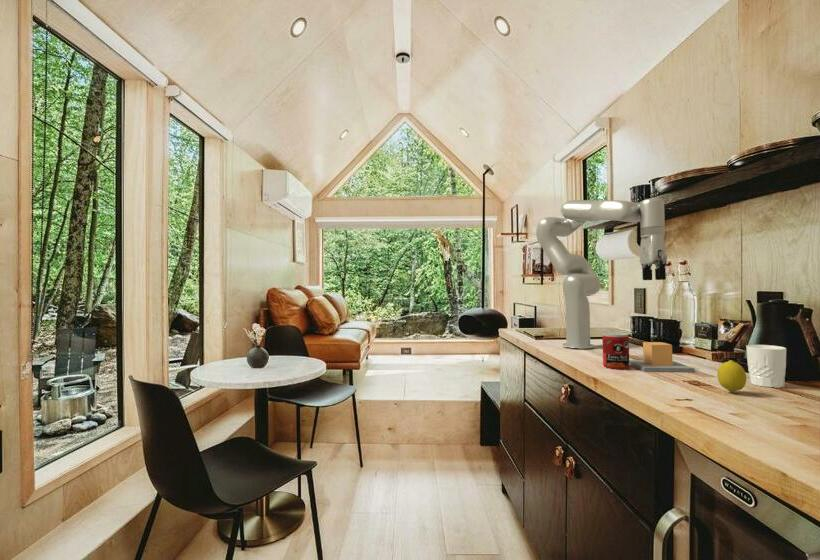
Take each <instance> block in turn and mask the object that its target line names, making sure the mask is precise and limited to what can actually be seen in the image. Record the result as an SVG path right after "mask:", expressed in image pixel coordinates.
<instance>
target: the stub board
mask: <svg viewBox="0 0 820 560" xmlns="http://www.w3.org/2000/svg"><path fill="white" fill-rule="evenodd" d="M672 361H673V366H652V365H650V364H647V363H645V362H643V359H629V366H631V367H633V368H636V369H638V370H640V371H642V372H645V373H651V372H652V373H656V372H657V373H694V371H695V370H694V369H695V368H693V367H692V366H688V365H686V364H683V363H681V362H677V361H674V360H672Z"/></svg>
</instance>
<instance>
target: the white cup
mask: <svg viewBox="0 0 820 560" xmlns="http://www.w3.org/2000/svg"><path fill="white" fill-rule="evenodd" d="M745 347H746V358H747V360H746V361H747V367H748V368H747V369H748V373H749V383H750V384H751V385H754V386H759V387H765V388H772V387H774V388H773V389H775V388H777V389H779V388H780V389H781V387H782V388H785V385H786V384H785V383H786V382H785V381H786V380H785V378H786V368H787V347H784V346H779V345H772V344H771V345H769V344H746V345H745Z"/></svg>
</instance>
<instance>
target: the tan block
mask: <svg viewBox="0 0 820 560" xmlns="http://www.w3.org/2000/svg"><path fill="white" fill-rule="evenodd" d="M642 350H643V351H642V352H643V353H642V356H643V357H642V358H643V359H642V360H643V362H645V363H647V364H650V365H652V366H673V361H674V360H673V344H670V343H667V342H662V341H661V342H660V341H649V342H648V341H643V342H642Z"/></svg>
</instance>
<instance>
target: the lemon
mask: <svg viewBox="0 0 820 560" xmlns="http://www.w3.org/2000/svg"><path fill="white" fill-rule="evenodd" d="M716 374H717V376H716V377H717V381H718V383H719V385H720V386H721V387H722V388H724V389H725V390H726V391H728V392H729V393H732V394H734V393H735V392H736V391H740V390H742V389H744V387H745V386H746V384H747V373H746V371H745V368H743V365H740V364H739V363H737V362H735V361H734V360H728V361H724V362H723V363H721V364H720V365H719V367H718V369H717V373H716Z"/></svg>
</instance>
